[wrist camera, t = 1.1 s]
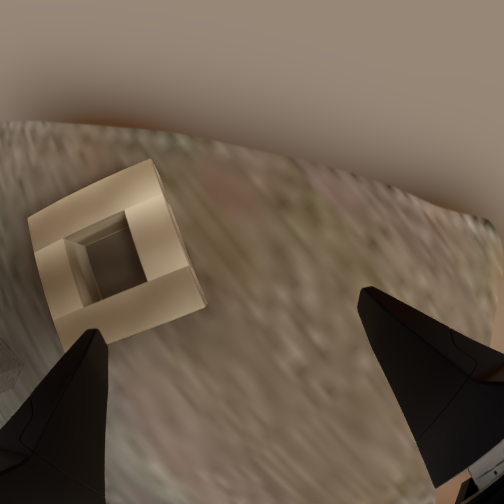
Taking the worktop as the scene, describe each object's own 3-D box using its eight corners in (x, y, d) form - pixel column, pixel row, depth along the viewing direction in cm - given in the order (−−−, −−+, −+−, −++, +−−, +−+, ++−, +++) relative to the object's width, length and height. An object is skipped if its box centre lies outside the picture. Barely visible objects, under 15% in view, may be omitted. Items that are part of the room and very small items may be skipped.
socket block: (207, 304, 24) (204, 307, 19) (90, 347, 22) (67, 358, 18) (161, 179, 24) (150, 158, 20) (53, 228, 23) (27, 218, 18)
